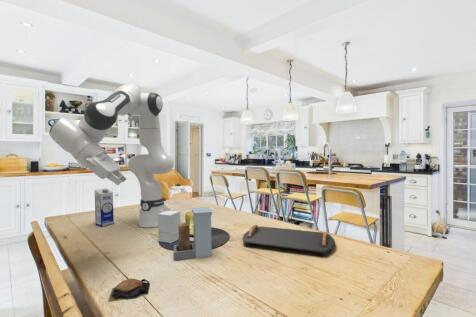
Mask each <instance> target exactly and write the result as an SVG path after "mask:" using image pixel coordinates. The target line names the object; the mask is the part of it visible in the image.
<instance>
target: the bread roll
mask: <svg viewBox="0 0 476 317" xmlns="http://www.w3.org/2000/svg"><path fill="white" fill-rule="evenodd" d="M150 284H151V282H150V281H149V280H147V279H145V278H143V279H141V280H140V279H137V278H127V279H124V280H122V281H120V283H118V284H117V285H116V286H114V287H112V289H111V291H110V294H109V297H108V301H107V302H109V303H110V302H111V303H112V302H118V301H122V300H129V299H135V298H139V297H144V296H148V295H149V294H150V293H149V290H150V286H151V285H150Z"/></svg>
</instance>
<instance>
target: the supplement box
mask: <svg viewBox="0 0 476 317" xmlns="http://www.w3.org/2000/svg"><path fill="white" fill-rule="evenodd" d="M178 224H181V212H180V211H178V210H177V211H176V210H171V211H165V212H162V213H159V214H158V227H157V232H158V233H157V234H158V236H157V237H158V242H161V243H167V244H168V243H169V244H173V243H174V242H176V241H179V227H178Z"/></svg>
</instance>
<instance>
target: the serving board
mask: <svg viewBox="0 0 476 317" xmlns="http://www.w3.org/2000/svg"><path fill="white" fill-rule="evenodd" d="M242 242H243V243H244V246H245V247H249V246H250V244H253V245H259V246H265V247H267V246H269V247H276V248H282V249H289V250H290V249H292V250H296V251H306V252H314V253H319V254H320V256H321V257H327V253H328V252H330V251H331V250H332V249H334V247H335V246H336V241H335V239H334V237H333V236H332V235H331V234H329V233H328V232H327V231H324V232H321V231H311V230H300V229H291V228H281V227H271V226H262V225H261V226H259V225H258V224H254V225H251V227H250V228H249V230H248V231H246V232H245V233H244V234H243V236H242Z"/></svg>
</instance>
